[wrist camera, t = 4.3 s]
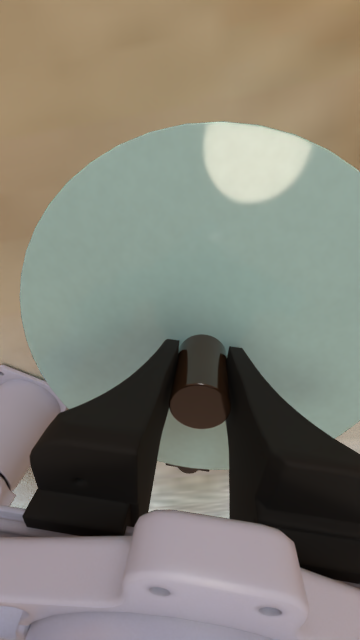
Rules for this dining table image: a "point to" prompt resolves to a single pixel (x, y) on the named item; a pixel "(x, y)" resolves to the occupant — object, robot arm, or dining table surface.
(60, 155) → the dining table surface
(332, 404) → the lid
